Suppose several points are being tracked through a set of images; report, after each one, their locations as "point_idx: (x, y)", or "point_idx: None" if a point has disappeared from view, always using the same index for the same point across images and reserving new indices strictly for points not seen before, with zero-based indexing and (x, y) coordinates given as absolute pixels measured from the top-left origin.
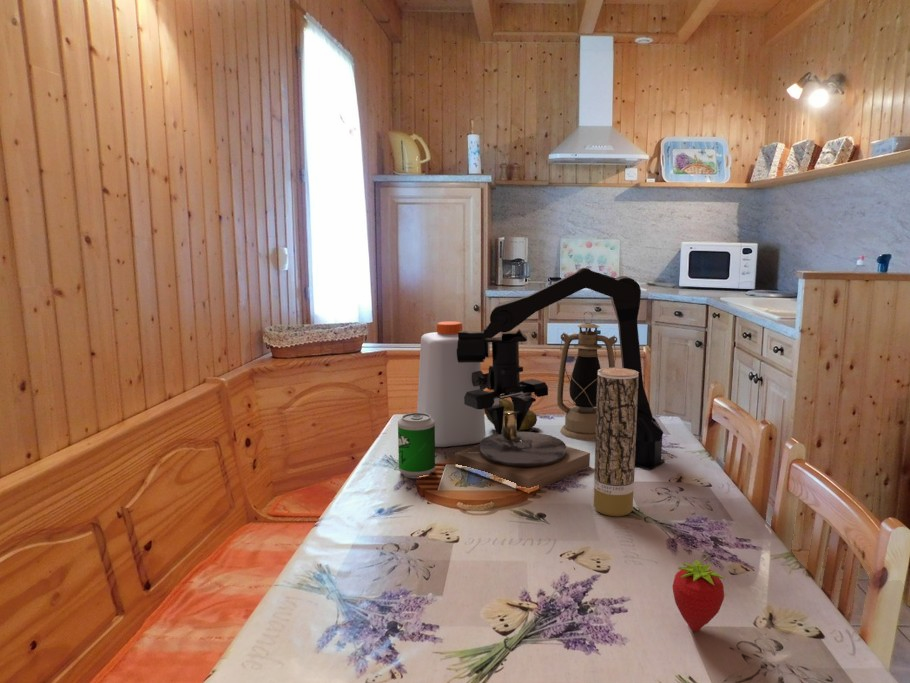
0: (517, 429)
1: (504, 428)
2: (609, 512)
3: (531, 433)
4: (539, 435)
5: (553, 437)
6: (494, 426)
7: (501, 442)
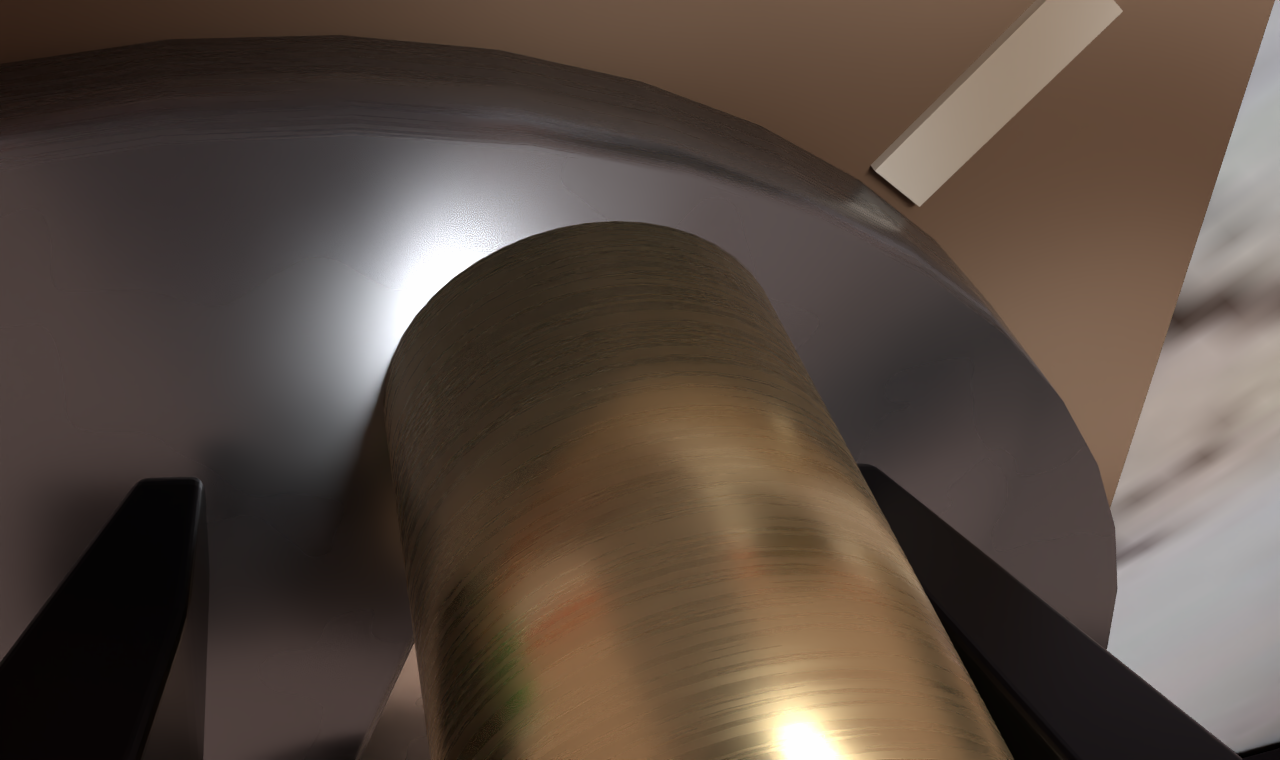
0: None
1: (412, 604)
2: None
3: (1015, 514)
4: None
5: None
6: (17, 654)
7: None
